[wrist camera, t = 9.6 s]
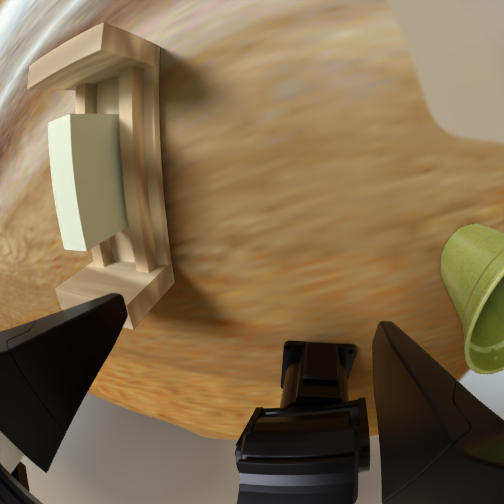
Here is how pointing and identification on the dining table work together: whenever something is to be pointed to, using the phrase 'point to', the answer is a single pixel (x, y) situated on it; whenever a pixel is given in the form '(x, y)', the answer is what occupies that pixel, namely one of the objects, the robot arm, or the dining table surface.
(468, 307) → the plant pot
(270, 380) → the dining table surface
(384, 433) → the robot arm
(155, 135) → the wooden u-shaped holder
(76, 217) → the pale green rectangular block
